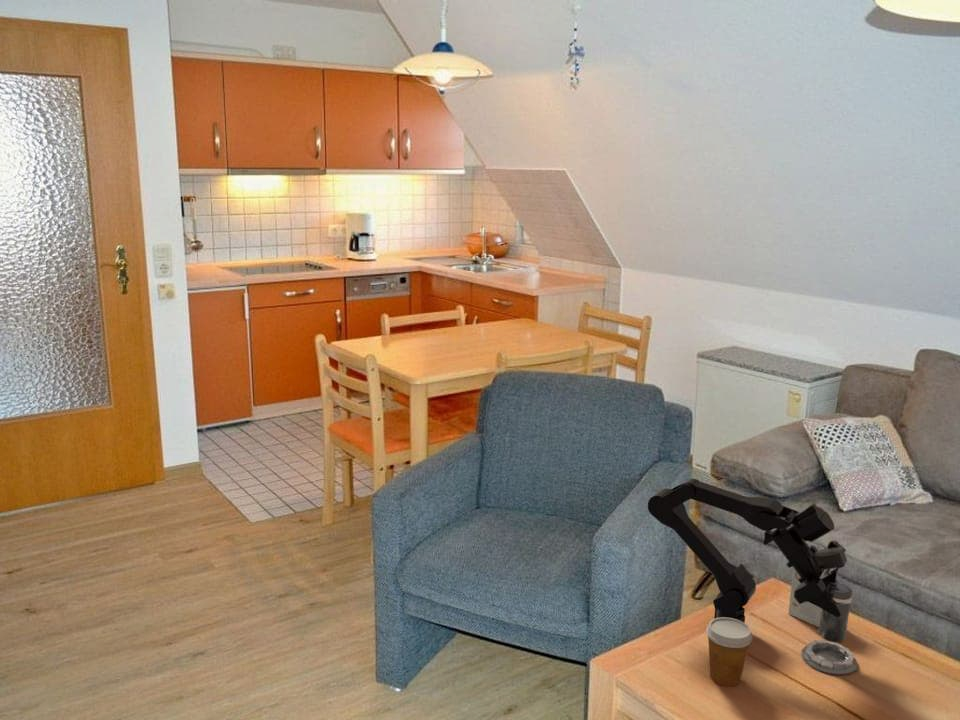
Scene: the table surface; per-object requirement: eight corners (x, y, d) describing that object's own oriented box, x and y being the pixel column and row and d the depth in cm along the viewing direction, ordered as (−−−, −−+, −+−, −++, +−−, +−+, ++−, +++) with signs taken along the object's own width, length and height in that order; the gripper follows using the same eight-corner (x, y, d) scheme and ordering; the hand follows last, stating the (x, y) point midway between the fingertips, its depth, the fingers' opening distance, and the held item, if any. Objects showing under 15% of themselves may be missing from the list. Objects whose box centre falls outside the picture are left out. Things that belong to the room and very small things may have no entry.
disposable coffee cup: (748, 670, 184) (753, 620, 182) (747, 695, 176) (752, 643, 173) (704, 661, 187) (708, 612, 185) (700, 685, 179) (704, 634, 176)
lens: (811, 632, 189) (818, 585, 186) (828, 625, 192) (835, 579, 189) (834, 645, 184) (841, 596, 181) (851, 638, 187) (858, 590, 184)
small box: (831, 619, 206) (837, 570, 204) (817, 627, 203) (823, 578, 200) (801, 606, 213) (806, 558, 210) (787, 613, 209) (792, 565, 206)
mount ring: (790, 654, 191) (791, 646, 190) (823, 640, 197) (824, 633, 196) (834, 681, 181) (835, 672, 181) (868, 665, 187) (869, 657, 187)
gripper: (816, 549, 177) (865, 613, 173) (835, 520, 192) (881, 578, 189) (773, 572, 183) (820, 634, 179) (795, 542, 198) (839, 599, 195)
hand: (842, 610), depth 185 cm, fingers closed on lens, 6 cm apart
